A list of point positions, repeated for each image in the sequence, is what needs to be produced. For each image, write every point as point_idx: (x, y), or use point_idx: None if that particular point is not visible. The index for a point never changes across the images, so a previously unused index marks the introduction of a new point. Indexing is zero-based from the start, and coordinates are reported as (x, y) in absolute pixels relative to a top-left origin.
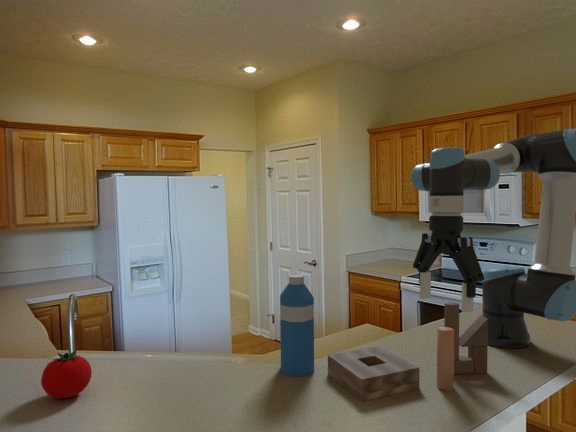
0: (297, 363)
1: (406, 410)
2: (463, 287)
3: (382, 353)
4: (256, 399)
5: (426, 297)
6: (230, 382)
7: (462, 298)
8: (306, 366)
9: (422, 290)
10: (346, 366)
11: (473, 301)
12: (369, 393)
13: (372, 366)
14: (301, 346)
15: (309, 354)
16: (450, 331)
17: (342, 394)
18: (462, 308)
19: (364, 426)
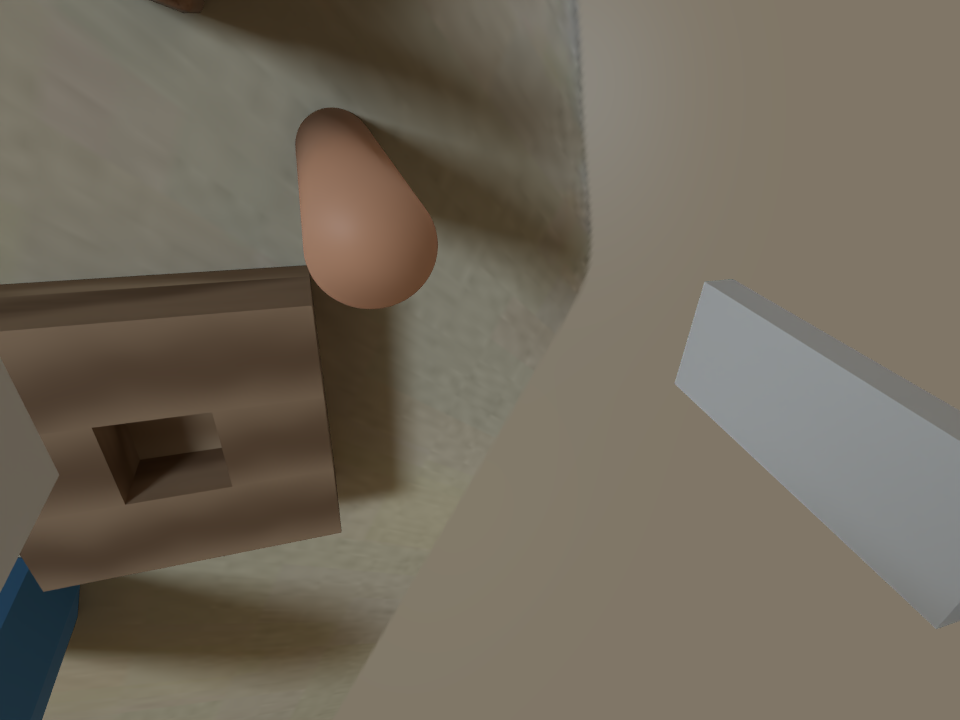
0: (62, 648)
1: (434, 387)
2: (895, 563)
3: (58, 381)
4: (234, 674)
5: (24, 422)
6: None
7: (772, 464)
8: (63, 611)
9: (3, 568)
10: (208, 552)
11: (810, 324)
12: (334, 470)
13: (235, 474)
14: (37, 710)
15: (29, 645)
16: (432, 251)
17: None
18: (702, 399)
19: (454, 502)
